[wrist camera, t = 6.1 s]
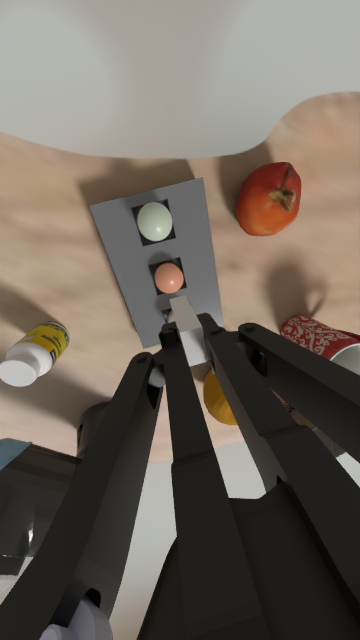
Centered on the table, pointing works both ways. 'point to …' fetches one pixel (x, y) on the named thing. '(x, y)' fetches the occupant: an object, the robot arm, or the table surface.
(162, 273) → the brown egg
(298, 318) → the mug
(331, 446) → the bowl
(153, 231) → the button sage
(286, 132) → the table surface
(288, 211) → the tomato
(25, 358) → the pill bottle
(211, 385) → the apple
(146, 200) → the panel
